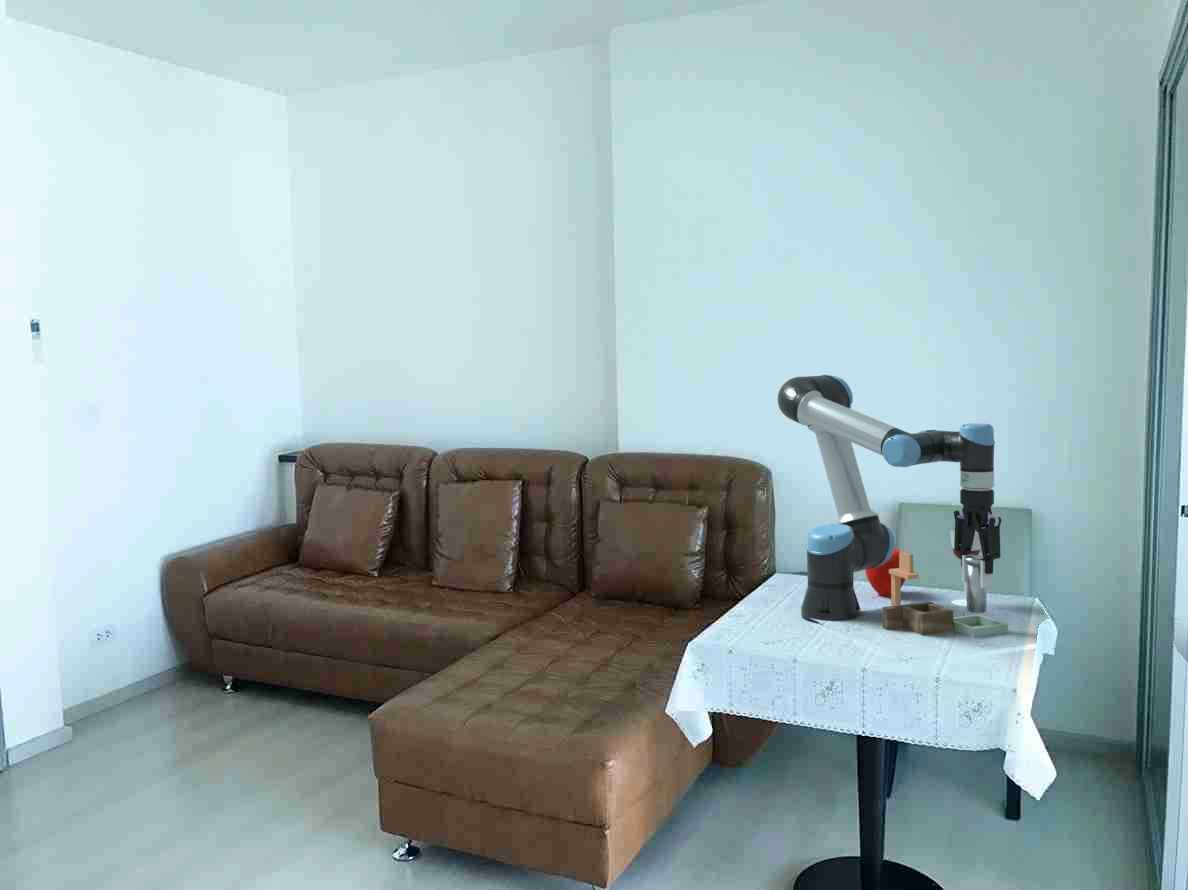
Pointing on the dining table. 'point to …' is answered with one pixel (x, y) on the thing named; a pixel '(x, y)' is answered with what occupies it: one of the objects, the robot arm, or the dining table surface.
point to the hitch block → (918, 618)
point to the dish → (987, 629)
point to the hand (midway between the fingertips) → (976, 583)
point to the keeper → (904, 572)
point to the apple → (884, 575)
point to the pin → (975, 585)
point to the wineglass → (975, 549)
